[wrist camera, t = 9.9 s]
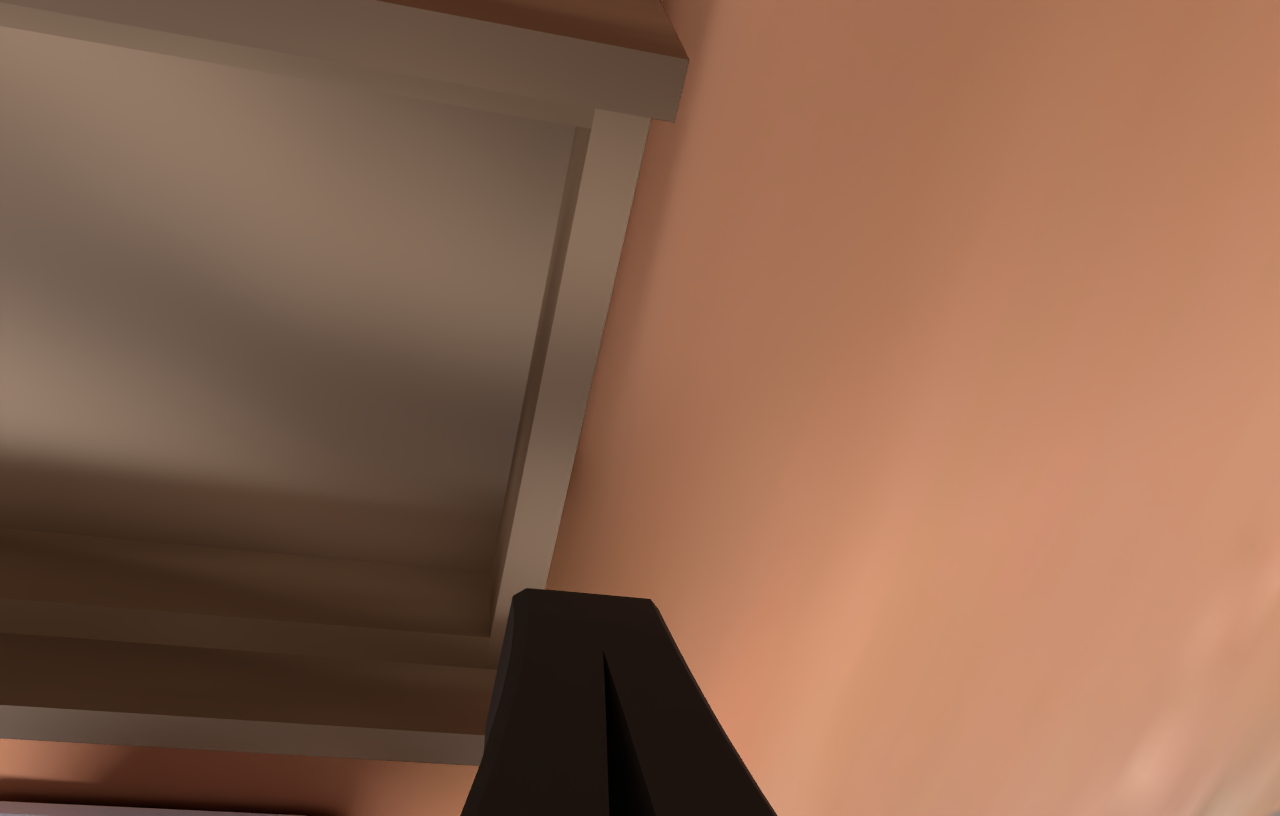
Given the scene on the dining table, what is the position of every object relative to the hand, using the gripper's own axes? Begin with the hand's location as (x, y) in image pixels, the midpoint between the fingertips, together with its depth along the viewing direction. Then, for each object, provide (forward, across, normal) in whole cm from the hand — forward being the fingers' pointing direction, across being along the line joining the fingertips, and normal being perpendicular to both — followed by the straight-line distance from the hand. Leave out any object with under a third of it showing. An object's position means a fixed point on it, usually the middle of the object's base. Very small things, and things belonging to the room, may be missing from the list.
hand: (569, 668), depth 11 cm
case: (+10, +7, +2) cm, 12 cm away
